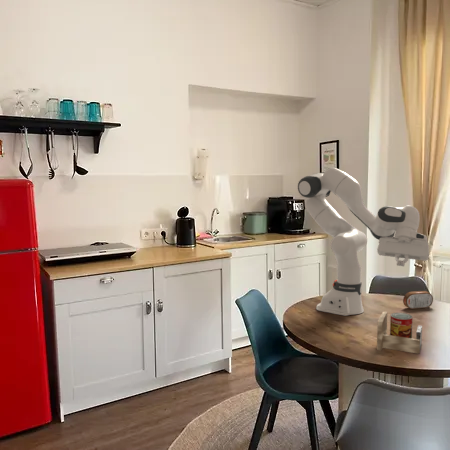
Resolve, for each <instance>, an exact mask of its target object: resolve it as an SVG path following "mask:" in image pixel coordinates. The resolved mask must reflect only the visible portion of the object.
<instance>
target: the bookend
mask: <svg viewBox="0 0 450 450" xmlns="http://www.w3.org/2000/svg"><path fill="white" fill-rule="evenodd" d="M415 335H416V337H415V339H419V340H420V349H421V348H422V341H423V339H422V338H423V325H417V329H416V334H415Z"/></svg>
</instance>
